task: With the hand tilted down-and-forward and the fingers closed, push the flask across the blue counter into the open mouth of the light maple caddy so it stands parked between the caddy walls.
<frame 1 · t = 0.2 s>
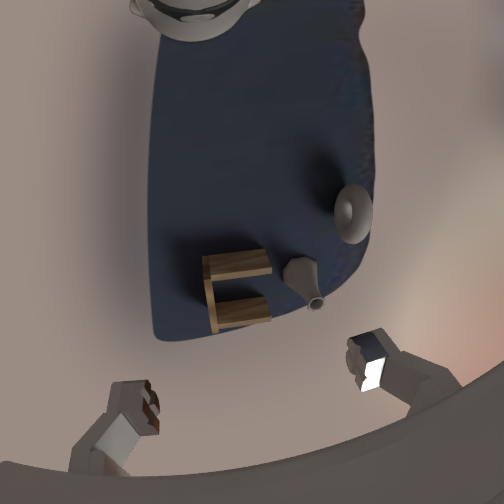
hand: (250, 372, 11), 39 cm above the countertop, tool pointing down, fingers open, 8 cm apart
caddy: (238, 279, 58), on the countertop
donut: (339, 201, 53), on the countertop
flask: (299, 270, 60), on the countertop
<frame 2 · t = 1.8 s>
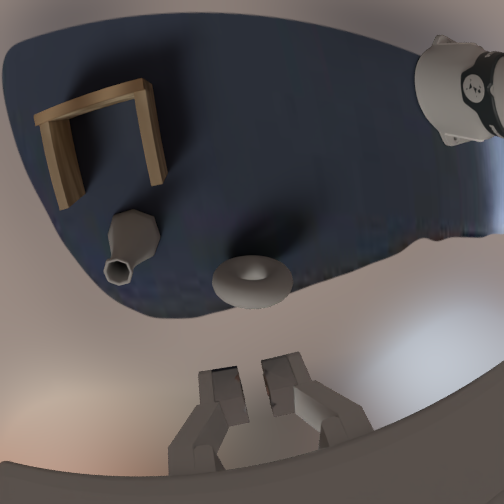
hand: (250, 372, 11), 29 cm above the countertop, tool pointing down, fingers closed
caddy: (111, 145, 32), on the countertop
donut: (246, 260, 43), on the countertop
flask: (134, 234, 38), on the countertop
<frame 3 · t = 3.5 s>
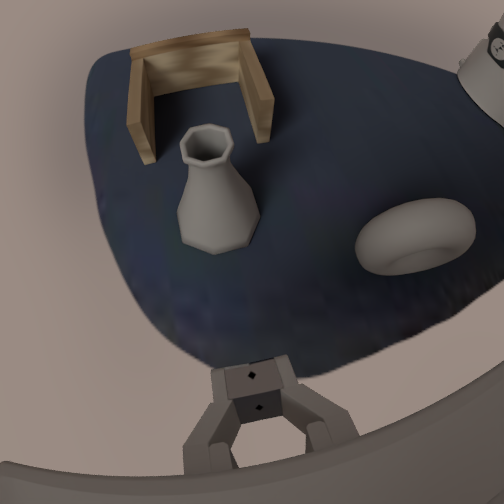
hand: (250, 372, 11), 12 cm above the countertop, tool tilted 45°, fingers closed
caddy: (200, 116, 30), on the countertop
donut: (388, 260, 26), on the countertop
flask: (218, 216, 26), on the countertop
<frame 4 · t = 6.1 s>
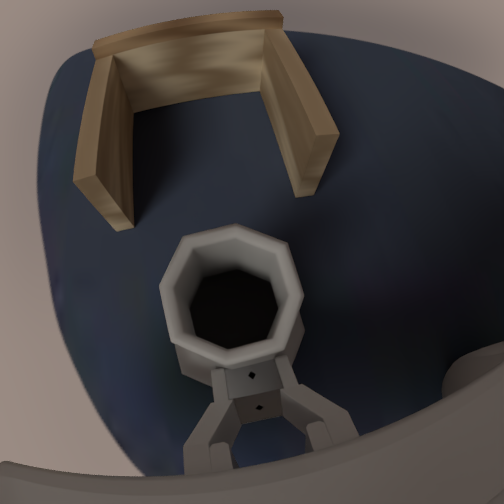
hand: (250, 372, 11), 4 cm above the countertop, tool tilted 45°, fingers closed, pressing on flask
caddy: (203, 147, 20), on the countertop
donut: (466, 372, 15), on the countertop
flask: (236, 328, 16), on the countertop, touching gripper
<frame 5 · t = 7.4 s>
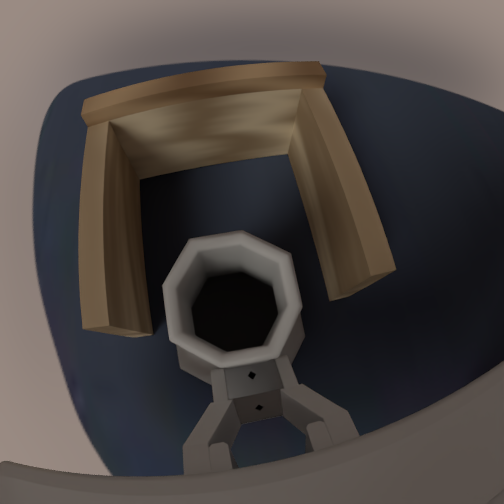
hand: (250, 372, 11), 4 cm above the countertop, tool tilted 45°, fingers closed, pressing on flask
caddy: (225, 234, 18), on the countertop
flask: (238, 328, 16), on the countertop, touching gripper
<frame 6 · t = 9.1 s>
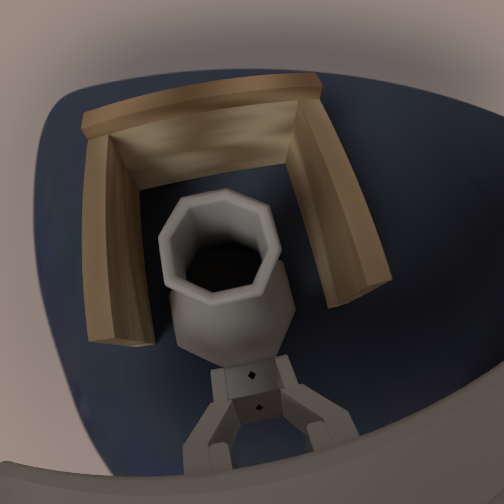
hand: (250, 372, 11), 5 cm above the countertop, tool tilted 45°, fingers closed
caddy: (225, 244, 18), on the countertop
flask: (231, 305, 17), on the countertop
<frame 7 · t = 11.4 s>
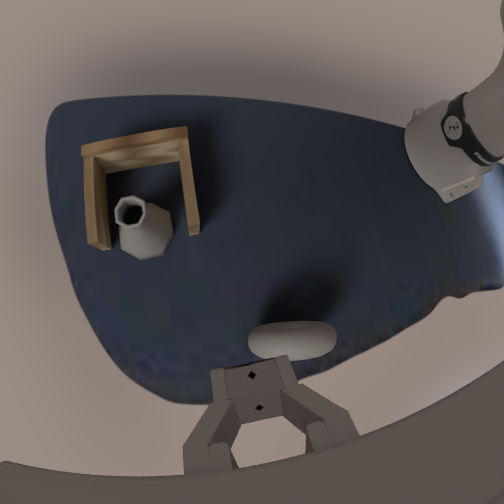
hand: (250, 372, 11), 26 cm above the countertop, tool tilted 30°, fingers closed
caddy: (145, 203, 37), on the countertop
donut: (279, 332, 38), on the countertop
flask: (146, 231, 36), on the countertop
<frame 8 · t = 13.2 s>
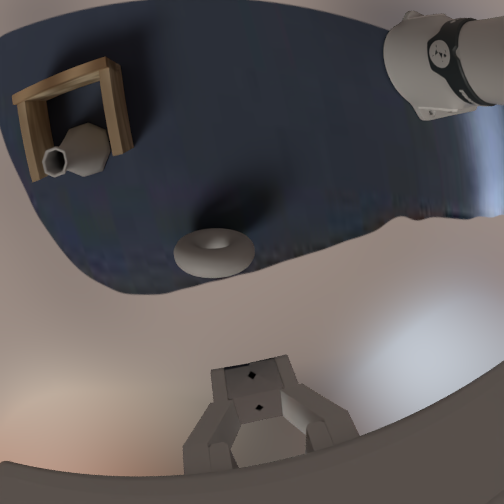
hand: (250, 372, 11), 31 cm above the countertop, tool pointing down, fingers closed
caddy: (83, 123, 32), on the countertop
donut: (211, 235, 42), on the countertop
flask: (86, 149, 34), on the countertop
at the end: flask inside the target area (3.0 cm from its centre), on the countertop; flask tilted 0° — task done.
